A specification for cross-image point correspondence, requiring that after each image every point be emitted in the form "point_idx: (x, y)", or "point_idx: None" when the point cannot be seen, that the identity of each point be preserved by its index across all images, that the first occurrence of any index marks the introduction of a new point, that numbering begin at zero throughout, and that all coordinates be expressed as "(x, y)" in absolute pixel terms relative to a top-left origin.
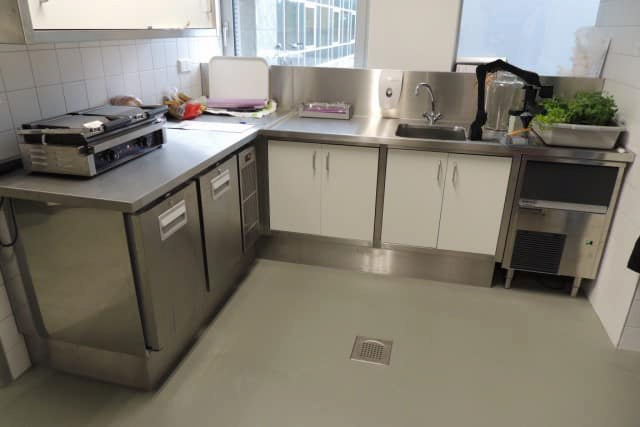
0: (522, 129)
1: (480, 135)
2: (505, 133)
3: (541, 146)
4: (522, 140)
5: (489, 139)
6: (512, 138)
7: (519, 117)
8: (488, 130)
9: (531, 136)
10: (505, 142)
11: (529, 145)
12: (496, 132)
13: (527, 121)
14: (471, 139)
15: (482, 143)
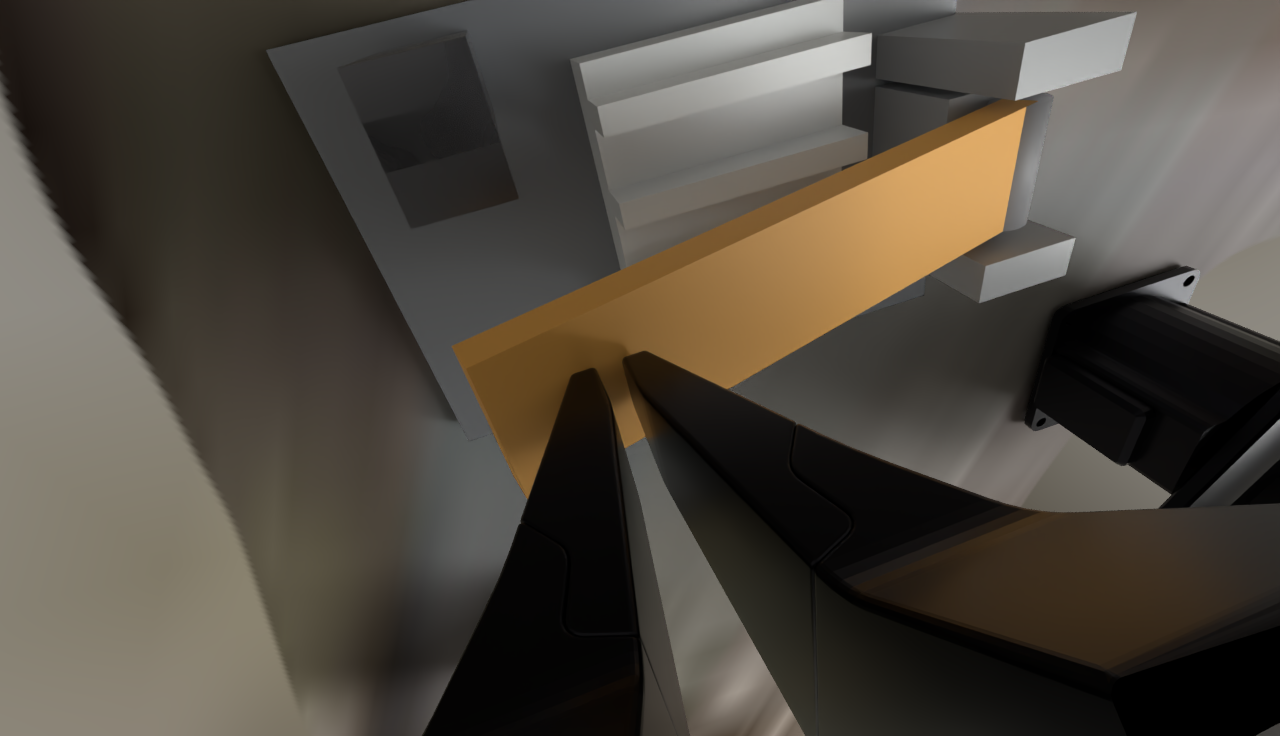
0: (693, 344)
1: (1121, 361)
2: (994, 254)
3: (149, 10)
4: (638, 87)
5: (928, 393)
6: (849, 134)
7: None
8: (744, 715)
9: (437, 44)
10: (975, 14)
11: (463, 2)
12: (701, 684)
13: (647, 581)
14: (1186, 290)
15: (1163, 136)
